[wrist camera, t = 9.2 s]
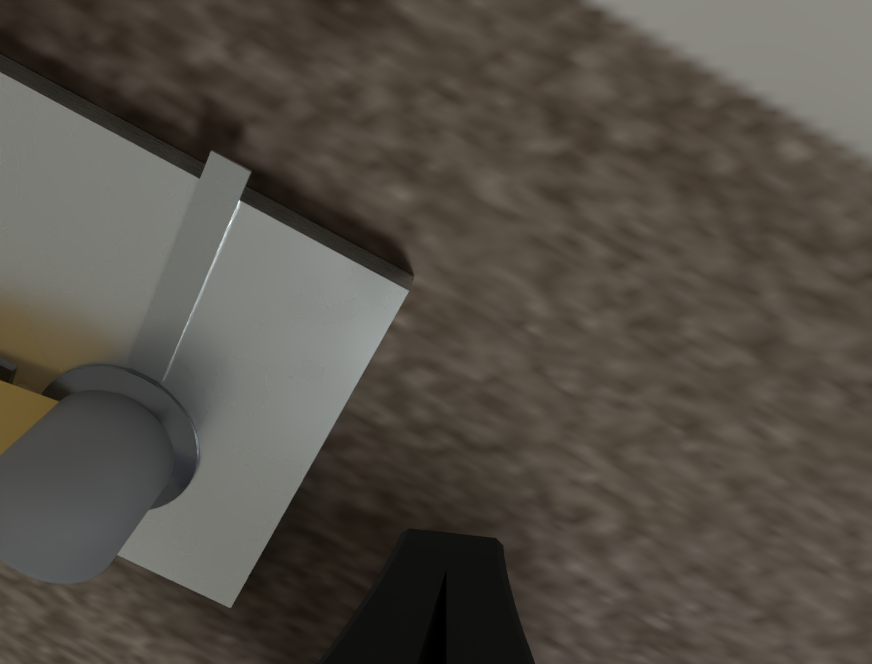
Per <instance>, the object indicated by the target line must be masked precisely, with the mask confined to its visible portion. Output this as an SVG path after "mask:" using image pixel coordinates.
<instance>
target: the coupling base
mask: <svg viewBox="0 0 872 664" xmlns="http://www.w3.org/2000/svg"><path fill="white" fill-rule="evenodd" d="M251 173H252V170H250V169H248V168H246V167H245V166H243V165H241V164H239V163H237V162H235V161H233V160H232V159H230V158H228V157H226V156H224V155H222V154H220V153H219V152H217V151H215V150H211V152H210V155H209V157H208V160H207V162H206V164H204V163H202V162H201V161H199V160H197V159H195V158H193V157H191V156H189V155H188V154H186V153H184V152H182V151H180V150H178V149H176V148H175V147H173V146H171V145H169V144H167V143H165V142H163V141H161V140H160V139H158V138H156V137H154V136H152V135H150V134H148V133H147V132H145V131H143V130H141V129H139V128H137V127H135V126H134V125H132V124H130V123H128V122H126V121H124V120H122V119H121V118H119V117H117V116H115V115H113V114H111V113H109V112H108V111H106V110H104V109H102V108H100V107H98V106H96V105H95V104H93V103H91V102H89V101H87V100H85V99H83V98H81V97H80V96H78V95H76V94H74V93H72V92H70V91H68V90H67V89H65V88H63V87H61V86H59V85H57V84H55V83H54V82H52V81H50V80H48V79H46V78H44V77H42V76H41V75H39V74H37V73H35V72H33V71H31V70H29V69H28V68H26V67H24V66H22V65H20V64H18V63H16V62H15V61H13V60H11V59H9V58H7V57H5V56H3V55H2V54H0V380H1V381H4V382H7V383H9V384H12V385H15V386H18V387H20V388H23V389H26V390H29V391H31V392H34V393H37V394H40V395H43V396H45V397H48V398H51V399H54V400H56V401H61V400H62V399H63V398H65V397H67V396H69V395H71V394H73V393H76V392H80V391H86V390H102V391H108V392H113V393H116V394H119V395H122V396H124V397H127V398H129V399H131V400H133V401H135V402H136V403H138V404H140V405H141V406H142V407H144V408H145V409H146V410H148V411H149V412H150V413H151V414H152V415H153V416H154V417H155V418H156V419H157V420H158V421H159V423H160V424H161V425H162V427H163V428H164V430H165V431H166V433H167V435H168V437H169V439H170V442H171V445H172V448H173V453H174V468H173V473H172V475H171V478H170V480H169V482H168V484H167V485H166V486H165V488H164V489H163V491H162V492H161V493H160V495H159V496H158V498H157V499H156V500H155V502H154V503H153V505H152V506H151V507H150V509H149V510H148V512H147V513H146V515H145V516H144V517H143V519H142V520H141V522H140V523H139V524H138V526H137V527H136V529H135V530H134V531H133V533H132V534H131V536H130V537H129V538H128V540H127V541H126V543H125V544H124V545H123V547H122V548H121V550H120V551H119V553H118V554H117V555H118V556H121V557H123V558H125V559H127V560H129V561H131V562H133V563H135V564H138V565H140V566H142V567H144V568H146V569H148V570H150V571H152V572H155V573H157V574H159V575H161V576H163V577H165V578H167V579H169V580H172V581H174V582H176V583H178V584H180V585H182V586H184V587H186V588H189V589H191V590H193V591H195V592H197V593H199V594H201V595H203V596H206V597H208V598H210V599H212V600H214V601H216V602H218V603H221V604H223V605H225V606H227V607H229V608H231V607H232V605H233V603H234V601H235V600H236V598H237V596H238V594H239V592H240V591H241V589H242V587H243V585H244V584H245V582H246V580H247V578H248V576H249V575H250V573H251V571H252V569H253V568H254V566H255V564H256V562H257V560H258V559H259V557H260V555H261V553H262V552H263V550H264V548H265V546H266V544H267V543H268V541H269V539H270V537H271V536H272V534H273V532H274V530H275V528H276V527H277V525H278V523H279V521H280V520H281V518H282V516H283V514H284V512H285V511H286V509H287V507H288V505H289V504H290V502H291V500H292V498H293V496H294V495H295V493H296V491H297V489H298V488H299V486H300V484H301V482H302V480H303V479H304V477H305V475H306V473H307V472H308V470H309V468H310V466H311V464H312V463H313V461H314V459H315V457H316V456H317V454H318V452H319V450H320V448H321V447H322V445H323V443H324V441H325V440H326V438H327V436H328V434H329V432H330V431H331V429H332V427H333V425H334V424H335V422H336V420H337V418H338V416H339V415H340V413H341V411H342V409H343V408H344V406H345V404H346V402H347V400H348V399H349V397H350V395H351V393H352V392H353V390H354V388H355V386H356V384H357V383H358V381H359V379H360V377H361V376H362V374H363V372H364V370H365V368H366V367H367V365H368V363H369V361H370V360H371V358H372V356H373V354H374V352H375V351H376V349H377V347H378V345H379V344H380V342H381V340H382V338H383V336H384V335H385V333H386V331H387V329H388V328H389V326H390V324H391V322H392V320H393V319H394V317H395V315H396V313H397V311H398V310H399V308H400V306H401V304H402V303H403V301H404V299H405V297H406V295H407V294H408V292H409V290H410V287H411V284H412V282H413V279H414V276H413V275H411V274H409V273H407V272H405V271H403V270H401V269H400V268H398V267H396V266H394V265H392V264H390V263H388V262H387V261H385V260H383V259H381V258H379V257H377V256H375V255H374V254H372V253H370V252H368V251H366V250H364V249H362V248H361V247H359V246H357V245H355V244H353V243H351V242H349V241H347V240H346V239H344V238H342V237H340V236H338V235H336V234H334V233H333V232H331V231H329V230H327V229H325V228H323V227H321V226H320V225H318V224H316V223H314V222H312V221H310V220H308V219H307V218H305V217H303V216H301V215H299V214H297V213H295V212H294V211H292V210H290V209H288V208H286V207H284V206H282V205H281V204H279V203H277V202H275V201H273V200H271V199H269V198H268V197H266V196H264V195H262V194H260V193H258V192H256V191H254V190H253V189H251V188H249V187H247V186H246V185H247V183H248V180H249V178H250V176H251Z"/></svg>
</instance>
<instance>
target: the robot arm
mask: <svg viewBox="0 0 872 664" xmlns="http://www.w3.org/2000/svg"><path fill="white" fill-rule="evenodd" d="M317 664H535V662H534V659H533V656H532V654H531V651H530V648H529V646H528V643H527V640H526V637H525V635H524V632H523V629H522V626H521V623H520V619H519V616H518V613H517V610H516V606H515V603H514V599H513V596H512V592H511V588H510V584H509V580H508V575H507V571H506V565H505V559H504V549H503V545H502V544H501V543H500V542H499V541H498V540H497V539H496V538H490V537H481V536H472V535H463V534H454V533H445V532H436V531H427V530H418V529H407V530H406V531H404V532H403V533H401V534H400V536H399V538H398V541H397V543H396V545H395V547H394V549H393V551H392V553H391V555H390V557H389V559H388V561H387V562H386V564H385V566H384V568H383V569H382V571H381V573H380V575H379V576H378V578H377V579H376V581H375V583H374V584H373V586H372V587H371V589H370V591H369V592H368V594H367V595H366V597H365V598H364V600H363V601H362V603H361V604H360V606H359V607H358V609H357V610H356V611H355V613H354V614H353V616H352V617H351V619H350V620H349V622H348V623H347V624H346V626H345V627H344V629H343V630H342V632H341V633H340V635H339V636H338V637H337V639H336V640H335V641H334V643H333V644H332V645H331V647H330V648H329V649H328V650H327V652H326V653H325V654H324V655H323V657H322V658H321V659H320V660H319V662H318V663H317Z"/></svg>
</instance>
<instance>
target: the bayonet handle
mask: <svg viewBox="0 0 872 664" xmlns="http://www.w3.org/2000/svg"><path fill="white" fill-rule="evenodd" d="M173 468H174V453H173V448H172V445H171V442H170V439H169V437H168V435H167V433H166V431H165V430H164V428H163V427H162V425H161V424H160V423H159V421H158V420H157V419H156V418H155V417H154V416H153V415H152V414H151V413H150V412H149V411H148V410H146V409H145V408H144V407H142V406H141V405H140V404H138V403H136V402H135V401H133V400H131V399H129V398H127V397H124V396H122V395H119V394H116V393H113V392H108V391H102V390H86V391H80V392H76V393H73V394H71V395H69V396H67V397H65V398H63V399H62V400H61V401H56V400H54V399H51V398H48V397H45V396H43V395H40V394H37V393H34V392H31V391H29V390H26V389H23V388H20V387H18V386H15V385H12V384H9V383H7V382H4V381H1V380H0V560H1V561H2V562H4V563H5V564H6V565H8V566H9V567H11V568H13V569H14V570H16V571H18V572H20V573H22V574H24V575H26V576H29V577H31V578H34V579H37V580H41V581H44V582H49V583H57V584H73V583H80V582H84V581H87V580H90V579H92V578H94V577H96V576H98V575H99V574H101V573H102V572H103V571H104V570H106V569H107V567H108V566H109V565H110V564H111V562H112V561H113V560H114V558H115V557H116V555H117V554H118V553H119V551H120V550H121V548H122V547H123V545H124V544H125V543H126V541H127V540H128V538H129V537H130V536H131V534H132V533H133V531H134V530H135V529H136V527H137V526H138V524H139V523H140V522H141V520H142V519H143V517H144V516H145V515H146V513H147V512H148V510H149V509H150V507H151V506H152V505H153V503H154V502H155V500H156V499H157V498H158V496H159V495H160V493H161V492H162V491H163V489H164V488H165V486H166V485H167V484H168V482H169V480H170V478H171V475H172V473H173Z"/></svg>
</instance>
